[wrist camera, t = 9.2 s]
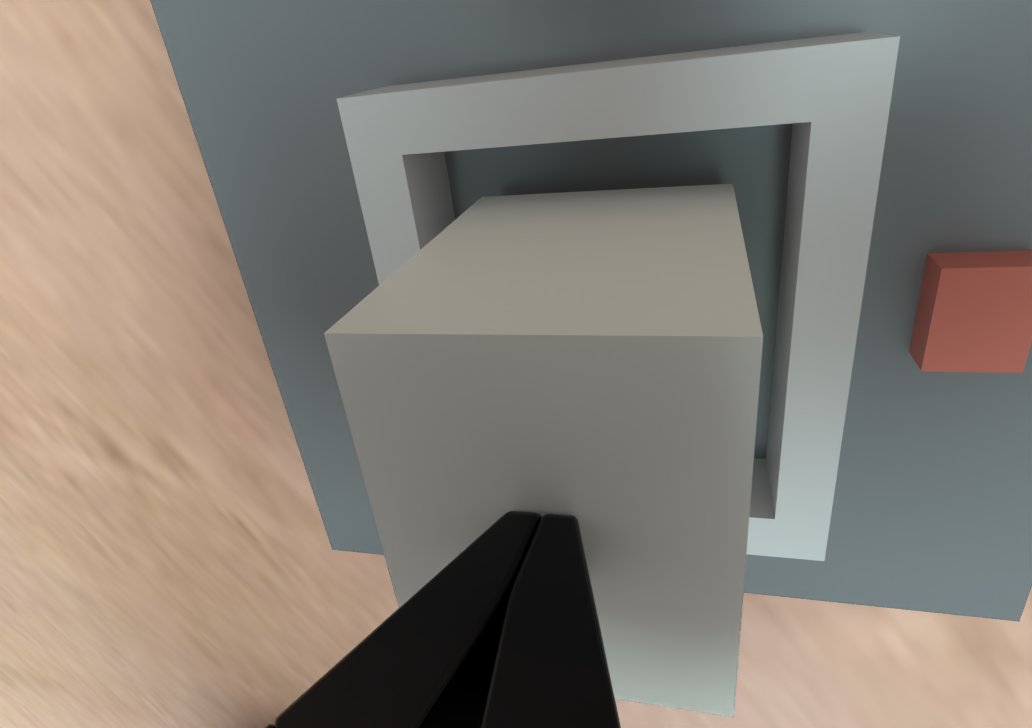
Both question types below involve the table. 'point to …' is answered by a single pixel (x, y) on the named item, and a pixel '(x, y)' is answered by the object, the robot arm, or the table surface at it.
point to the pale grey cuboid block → (575, 411)
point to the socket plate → (669, 163)
